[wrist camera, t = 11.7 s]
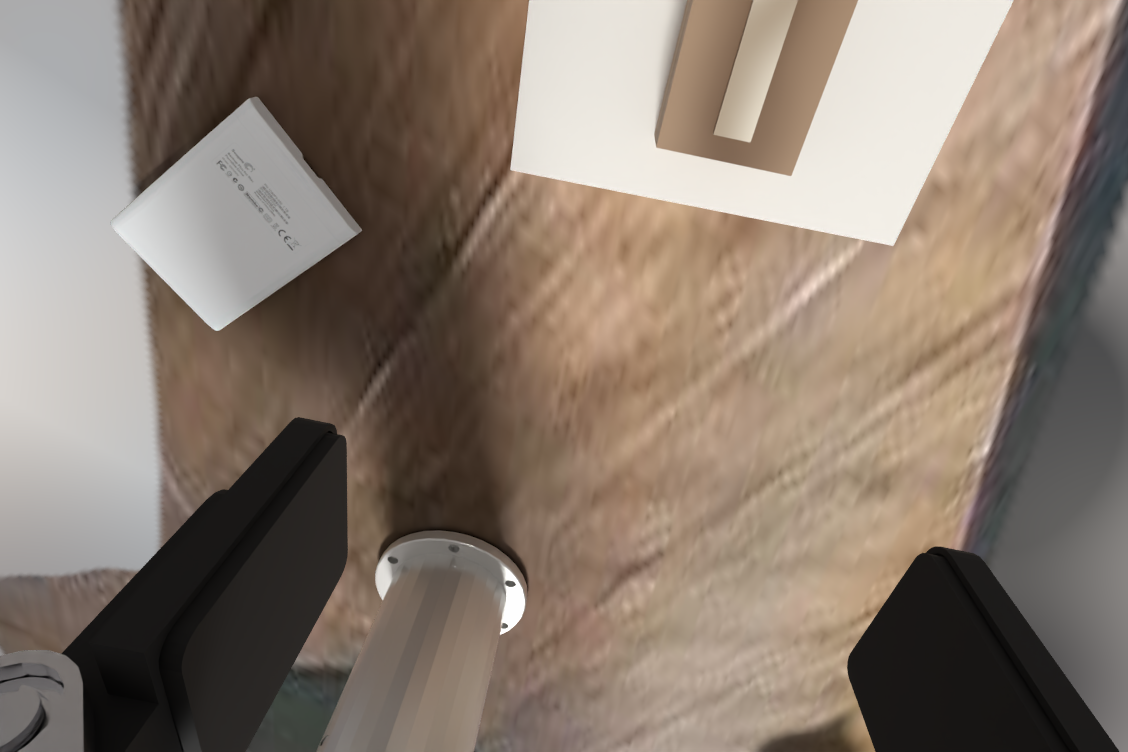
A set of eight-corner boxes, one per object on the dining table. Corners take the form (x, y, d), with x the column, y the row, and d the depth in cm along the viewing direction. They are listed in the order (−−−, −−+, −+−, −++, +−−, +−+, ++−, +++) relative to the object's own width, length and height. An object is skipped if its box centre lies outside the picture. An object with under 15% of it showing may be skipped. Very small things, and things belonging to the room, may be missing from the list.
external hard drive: (127, 214, 35) (263, 94, 30) (231, 322, 38) (367, 227, 33) (105, 222, 33) (245, 97, 29) (215, 333, 36) (355, 236, 32)
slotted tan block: (868, -102, 23) (906, -122, 20) (774, 160, 28) (792, 177, 25) (720, -133, 23) (733, -158, 20) (654, 134, 28) (656, 148, 25)
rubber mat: (888, 242, 30) (893, 245, 30) (512, 167, 30) (510, 170, 30) (1087, -168, 22) (1097, -172, 21) (561, -269, 22) (559, -276, 21)
